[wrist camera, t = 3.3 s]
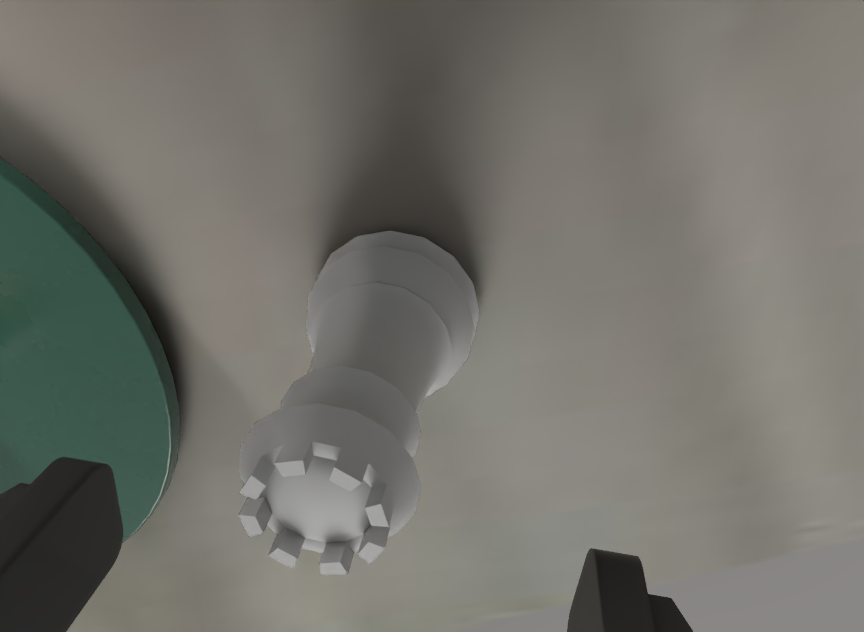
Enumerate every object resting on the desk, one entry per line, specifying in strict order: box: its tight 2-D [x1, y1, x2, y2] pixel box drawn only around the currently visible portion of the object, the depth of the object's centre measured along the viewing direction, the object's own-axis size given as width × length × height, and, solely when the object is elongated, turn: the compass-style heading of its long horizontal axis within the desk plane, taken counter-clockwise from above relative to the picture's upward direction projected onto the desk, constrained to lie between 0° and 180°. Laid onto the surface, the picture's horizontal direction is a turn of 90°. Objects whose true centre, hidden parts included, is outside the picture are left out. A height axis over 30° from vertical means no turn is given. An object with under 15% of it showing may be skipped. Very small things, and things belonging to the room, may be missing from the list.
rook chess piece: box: [239, 230, 480, 575], centre depth 14 cm, size 4×4×8 cm
